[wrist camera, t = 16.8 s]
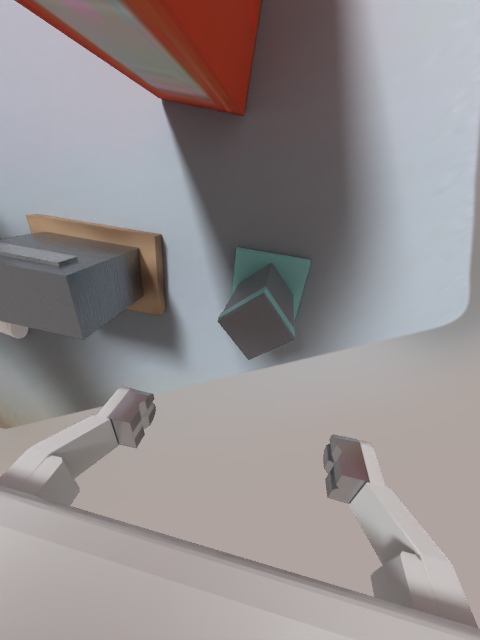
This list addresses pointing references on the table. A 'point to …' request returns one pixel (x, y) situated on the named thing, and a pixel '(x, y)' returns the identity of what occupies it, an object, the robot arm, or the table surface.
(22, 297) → the panel
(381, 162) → the table surface
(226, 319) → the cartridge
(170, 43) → the file binder
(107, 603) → the robot arm
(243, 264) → the pad
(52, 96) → the table surface
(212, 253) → the table surface
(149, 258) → the board
